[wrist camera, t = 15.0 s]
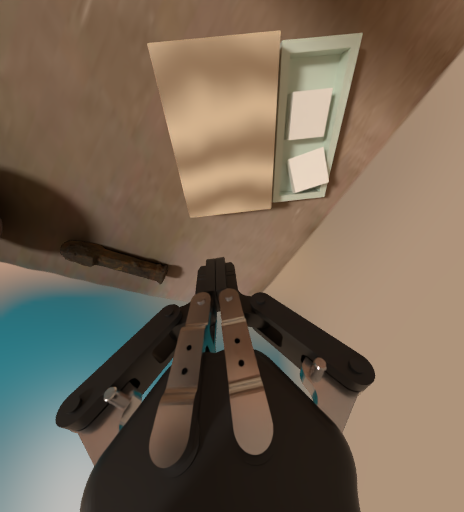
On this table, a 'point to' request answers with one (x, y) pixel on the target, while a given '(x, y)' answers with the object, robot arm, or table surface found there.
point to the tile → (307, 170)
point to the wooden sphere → (0, 227)
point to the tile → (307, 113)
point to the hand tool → (111, 260)
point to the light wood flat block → (221, 117)
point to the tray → (311, 78)
